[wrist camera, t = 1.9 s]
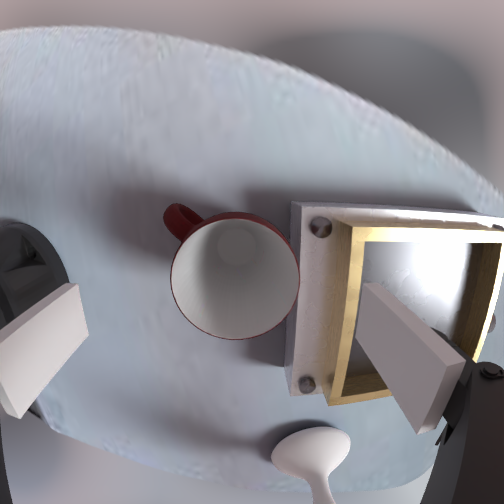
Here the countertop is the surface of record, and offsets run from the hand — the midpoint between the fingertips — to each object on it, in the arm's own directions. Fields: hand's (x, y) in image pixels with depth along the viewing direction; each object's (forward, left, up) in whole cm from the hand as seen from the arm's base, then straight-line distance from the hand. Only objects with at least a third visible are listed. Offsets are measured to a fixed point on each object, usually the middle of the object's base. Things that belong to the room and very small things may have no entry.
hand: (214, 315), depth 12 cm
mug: (0, 0, -16) cm, 16 cm away
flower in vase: (+11, -29, -16) cm, 35 cm away
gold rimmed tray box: (+20, -5, -15) cm, 26 cm away
